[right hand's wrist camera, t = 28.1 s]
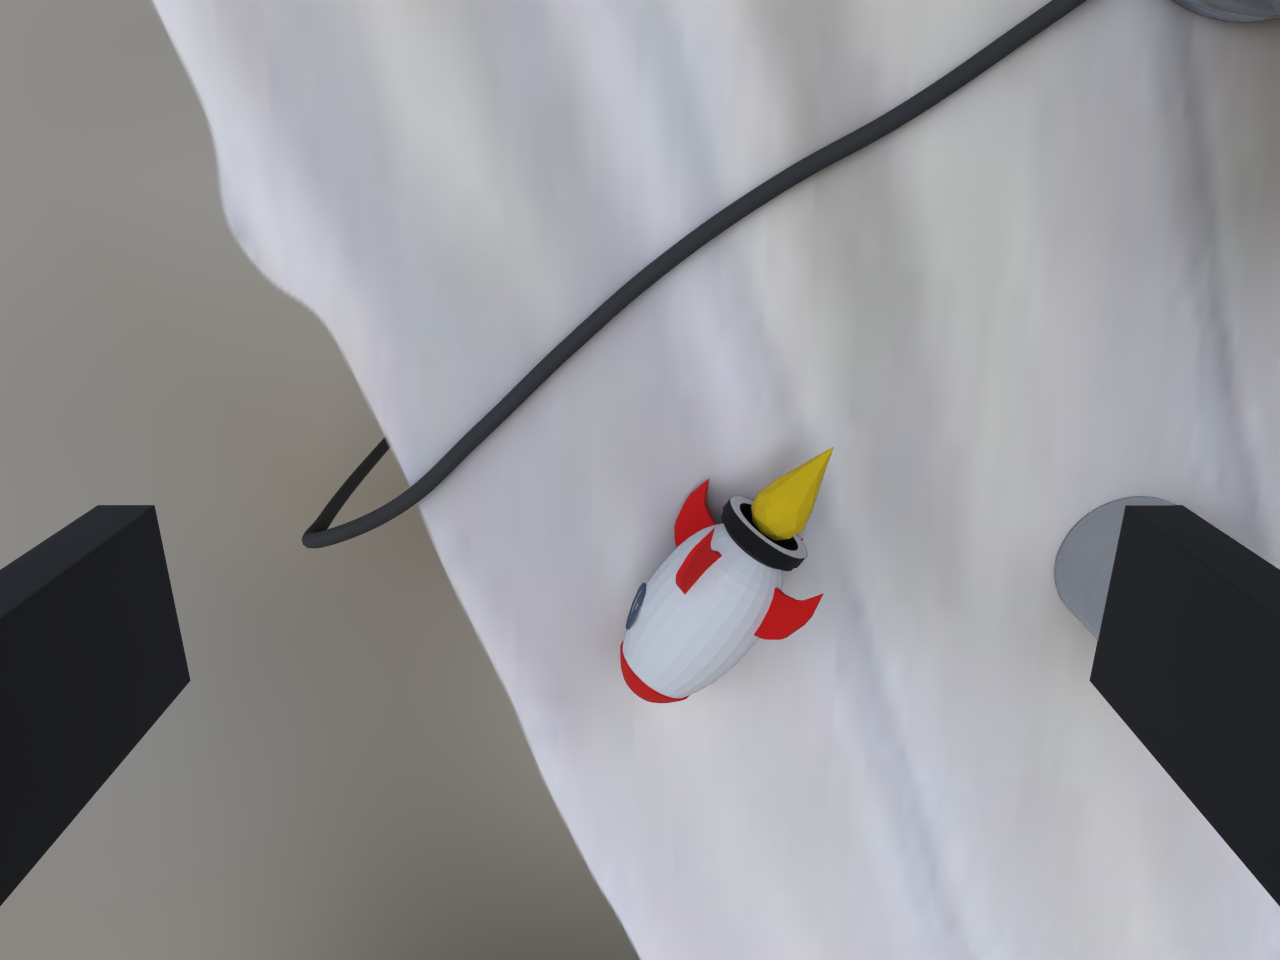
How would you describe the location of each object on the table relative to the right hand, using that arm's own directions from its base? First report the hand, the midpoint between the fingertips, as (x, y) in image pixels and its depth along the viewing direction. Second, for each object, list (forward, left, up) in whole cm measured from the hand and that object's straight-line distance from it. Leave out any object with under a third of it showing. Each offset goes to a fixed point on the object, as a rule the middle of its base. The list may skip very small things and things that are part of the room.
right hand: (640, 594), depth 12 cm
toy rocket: (-4, -19, -41) cm, 45 cm away
